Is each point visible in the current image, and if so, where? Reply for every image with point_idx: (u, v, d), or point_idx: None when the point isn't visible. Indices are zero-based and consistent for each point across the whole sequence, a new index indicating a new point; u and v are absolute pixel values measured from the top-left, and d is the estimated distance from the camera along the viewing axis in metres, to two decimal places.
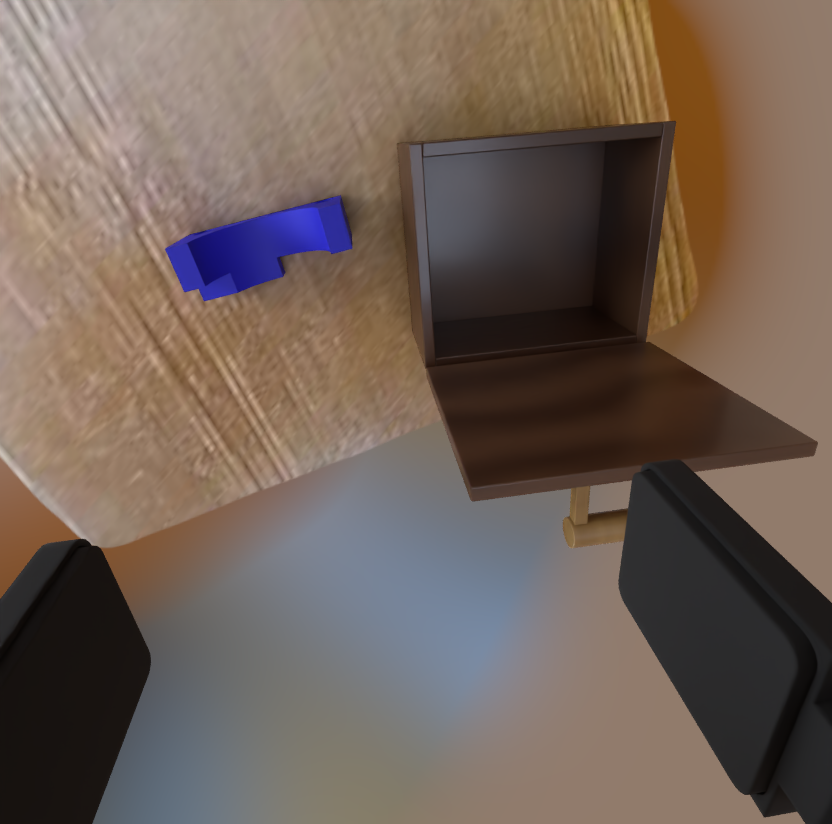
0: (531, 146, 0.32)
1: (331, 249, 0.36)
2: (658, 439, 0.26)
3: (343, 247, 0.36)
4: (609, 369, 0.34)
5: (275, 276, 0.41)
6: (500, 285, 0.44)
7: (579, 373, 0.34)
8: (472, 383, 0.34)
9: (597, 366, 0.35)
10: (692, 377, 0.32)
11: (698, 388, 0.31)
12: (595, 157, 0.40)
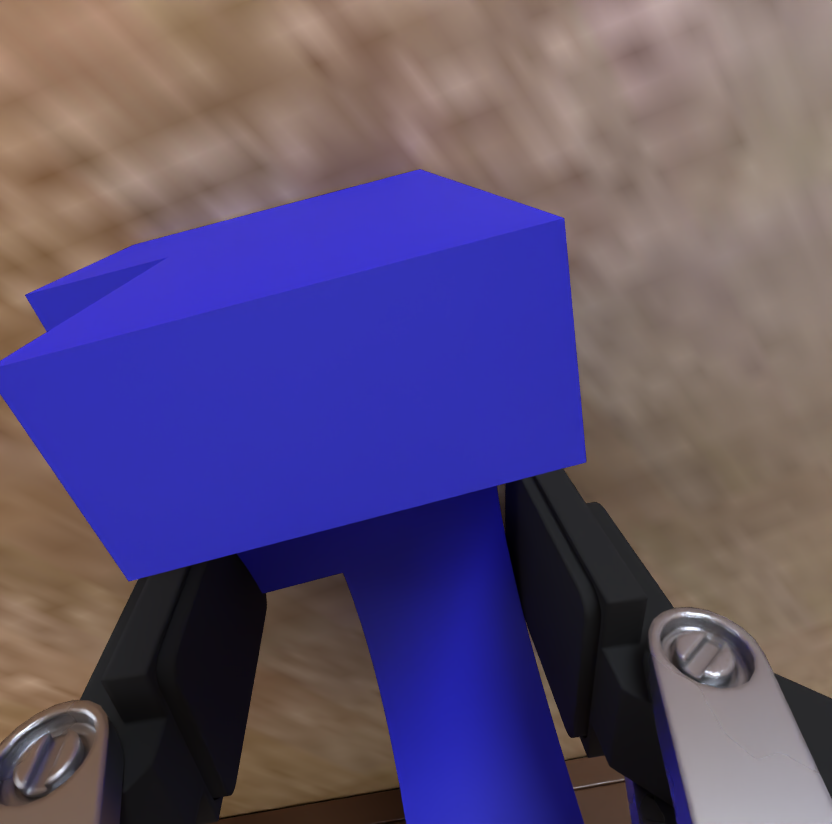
0: None
1: None
2: None
3: None
4: None
5: (260, 571, 0.09)
6: None
7: None
8: None
9: None
10: None
11: None
12: None
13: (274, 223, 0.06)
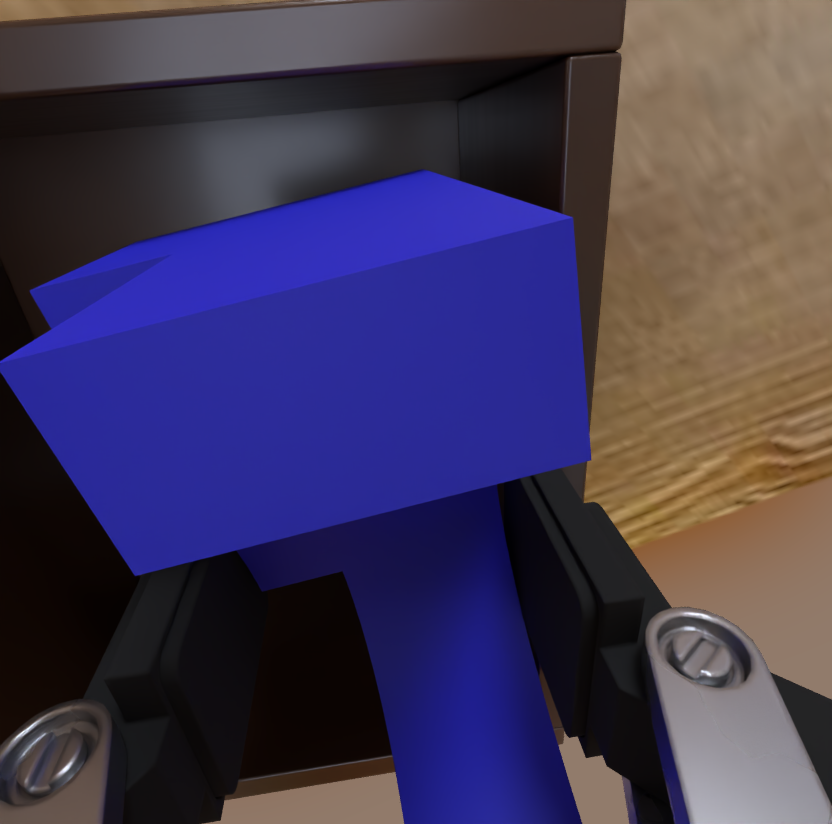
0: None
1: None
2: None
3: None
4: None
5: (260, 569, 0.09)
6: None
7: None
8: None
9: None
10: None
11: None
12: None
13: (278, 221, 0.06)
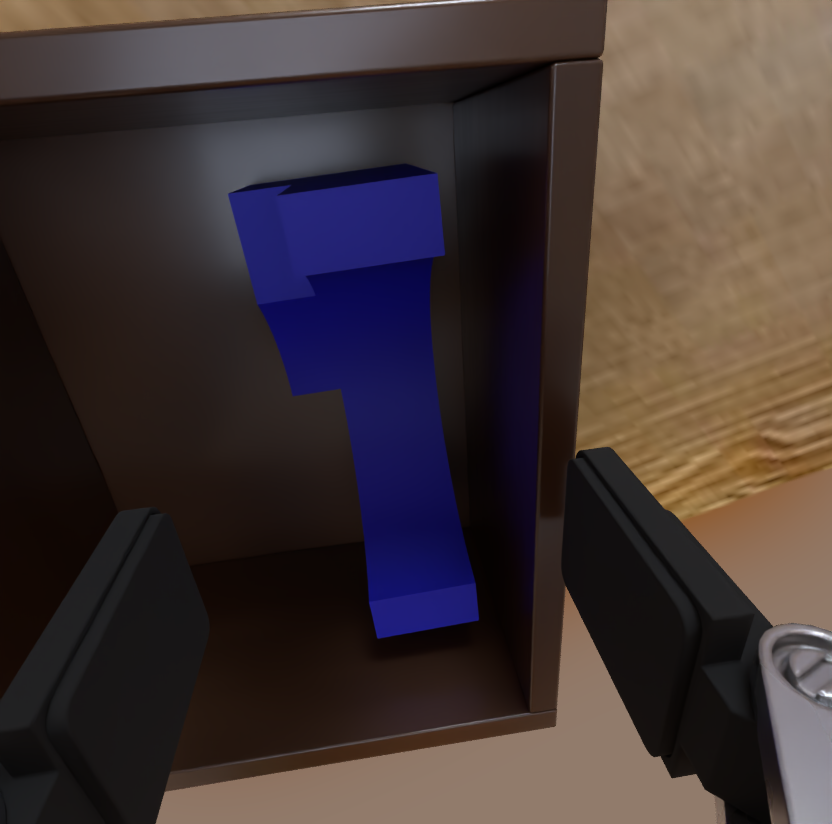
0: (542, 458, 0.10)
1: (379, 602, 0.14)
2: None
3: (381, 623, 0.15)
4: None
5: (294, 380, 0.16)
6: (145, 374, 0.17)
7: None
8: None
9: None
10: None
11: None
12: None
13: (336, 177, 0.13)
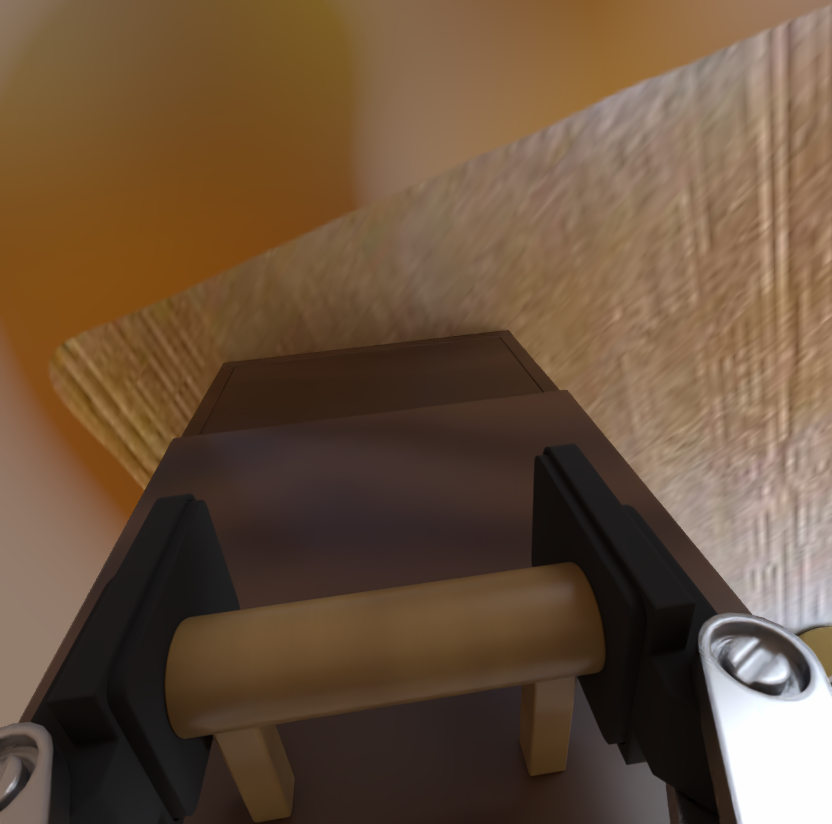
0: None
1: None
2: None
3: None
4: None
5: None
6: None
7: None
8: None
9: None
10: None
11: None
12: None
13: None
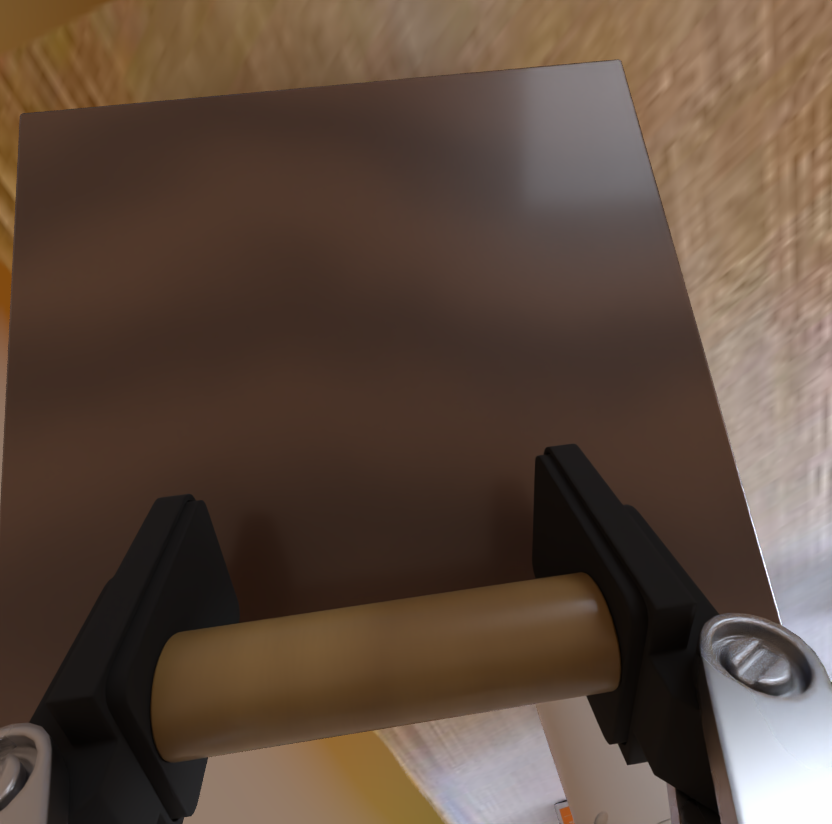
0: None
1: None
2: None
3: None
4: None
5: None
6: None
7: None
8: None
9: None
10: None
11: None
12: None
13: None
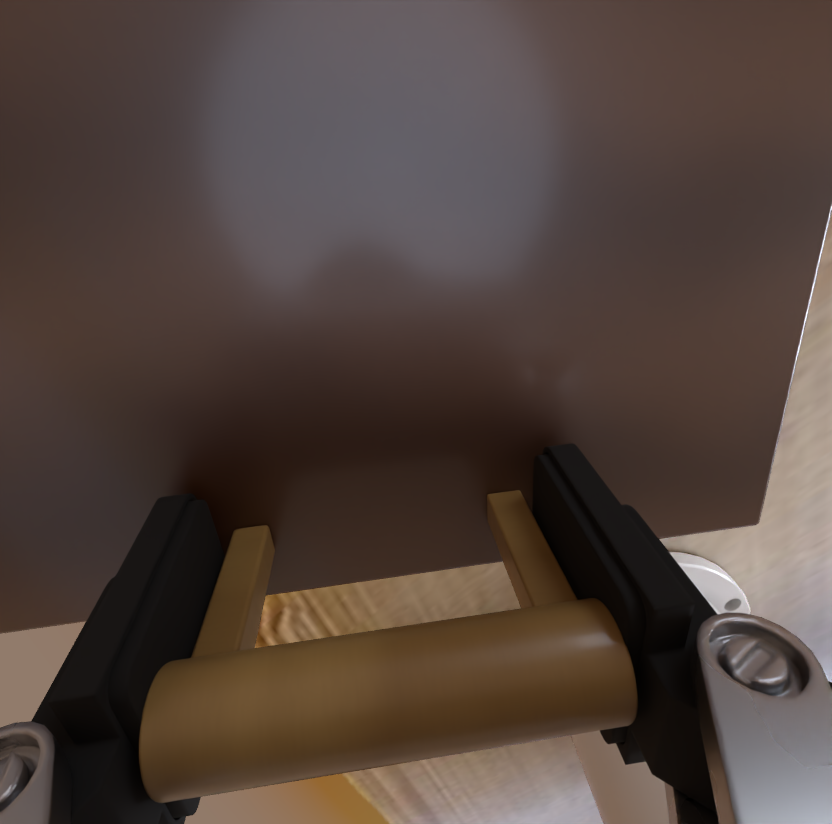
0: None
1: None
2: None
3: None
4: None
5: None
6: None
7: None
8: None
9: None
10: None
11: None
12: None
13: None
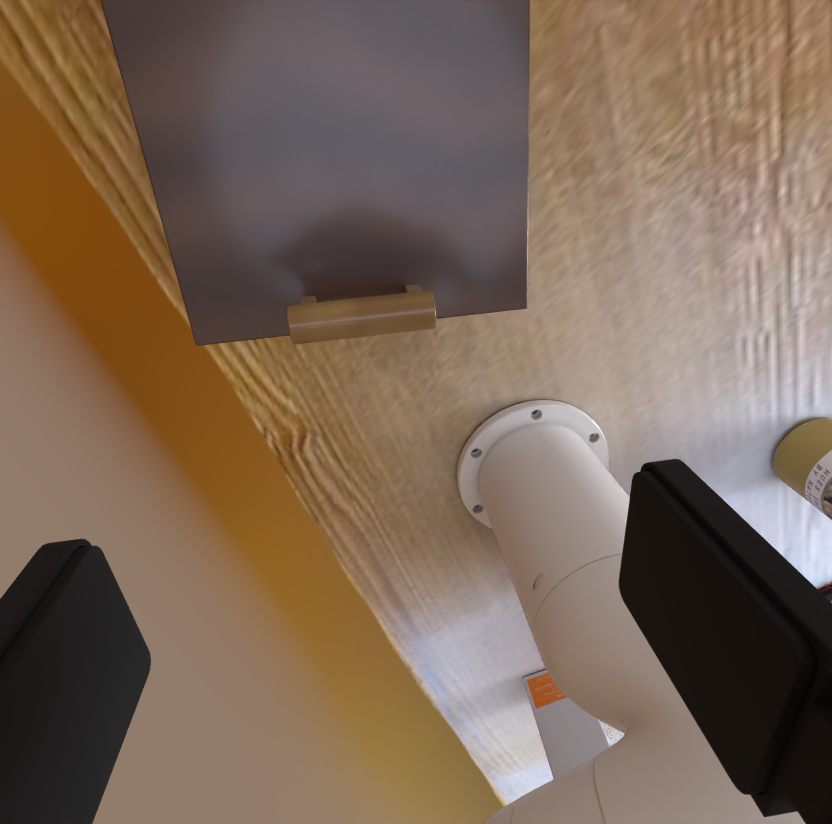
0: None
1: None
2: None
3: None
4: None
5: None
6: None
7: None
8: None
9: None
10: None
11: None
12: None
13: None
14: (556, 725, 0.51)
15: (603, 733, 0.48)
